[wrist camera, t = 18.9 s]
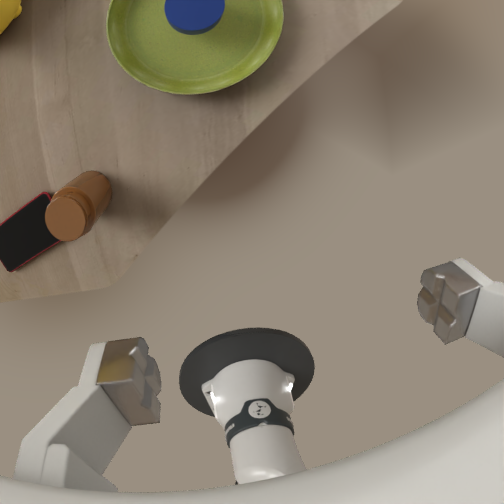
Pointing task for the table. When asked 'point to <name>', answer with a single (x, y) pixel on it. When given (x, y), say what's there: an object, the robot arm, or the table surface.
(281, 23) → the saucer
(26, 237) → the smartphone
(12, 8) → the teapot
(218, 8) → the jar lid
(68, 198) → the jar
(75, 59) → the table surface
